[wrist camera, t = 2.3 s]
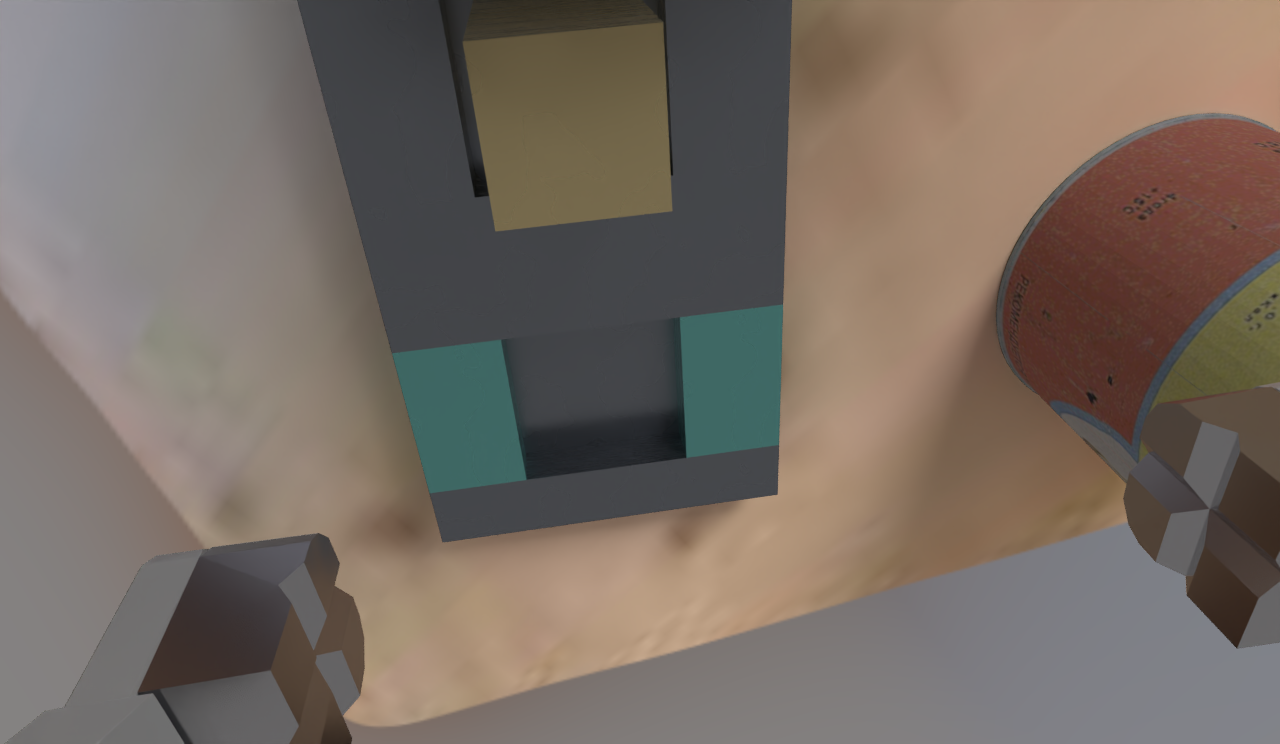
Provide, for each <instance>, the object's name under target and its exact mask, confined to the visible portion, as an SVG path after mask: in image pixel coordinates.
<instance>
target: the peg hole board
mask: <svg viewBox="0 0 1280 744" xmlns="http://www.w3.org/2000/svg"><path fill="white" fill-rule="evenodd" d="M297 1H298V5H299V9H300V12H301V16H302V20H303V24H304V27H305V31H306V35H307V38H308V42H309V46H310V50H311V53H312V57H313V61H314V64H315V68H316V72H317V76H318V79H319V83H320V87H321V91H322V94H323V98H324V102H325V105H326V109H327V113H328V117H329V120H330V124H331V128H332V132H333V135H334V139H335V143H336V146H337V150H338V154H339V158H340V161H341V165H342V169H343V173H344V176H345V180H346V184H347V187H348V191H349V195H350V199H351V202H352V206H353V210H354V213H355V217H356V221H357V225H358V228H359V232H360V236H361V240H362V243H363V247H364V251H365V254H366V258H367V262H368V266H369V269H370V273H371V277H372V281H373V284H374V288H375V292H376V295H377V299H378V303H379V307H380V310H381V314H382V318H383V322H384V325H385V329H386V333H387V336H388V340H389V344H390V348H391V351H392V355H393V359H394V362H395V366H396V370H397V374H398V377H399V381H400V385H401V389H402V392H403V396H404V400H405V403H406V407H407V411H408V415H409V418H410V422H411V426H412V430H413V433H414V437H415V441H416V444H417V448H418V452H419V456H420V459H421V463H422V467H423V471H424V474H425V478H426V482H427V485H428V489H429V493H430V497H431V500H432V504H433V508H434V511H435V515H436V519H437V523H438V526H439V530H440V534H441V538H442V541H443V542H449V541H456V540H463V539H470V538H477V537H484V536H491V535H498V534H505V533H512V532H519V531H526V530H533V529H540V528H547V527H554V526H561V525H568V524H575V523H582V522H589V521H596V520H603V519H610V518H617V517H624V516H631V515H638V514H645V513H652V512H659V511H666V510H673V509H680V508H687V507H694V506H701V505H708V504H715V503H722V502H729V501H736V500H743V499H750V498H757V497H764V496H771V495H777V494H778V460H779V426H780V392H781V357H782V323H783V289H784V254H785V220H786V186H787V152H788V117H789V83H790V49H791V14H792V0H643V2H644V3H645V4H646V5H647V6H648V7H649V8H650V9H651V10H652V11H653V12H654V13H655V14H656V15H657V16H658V17H659V18H660V20H661V21H662V22H663V29H664V50H665V70H666V91H667V111H668V132H669V152H670V172H671V193H672V211H670V212H661V213H653V214H644V215H635V216H627V217H618V218H609V219H600V220H592V221H583V222H574V223H566V224H557V225H548V226H539V227H531V228H522V229H513V230H505V231H496V232H495V226H494V220H493V215H492V209H491V203H490V197H489V192H488V186H487V180H486V174H485V169H484V163H483V157H482V151H481V145H480V140H479V134H478V128H477V122H476V117H475V111H474V105H473V99H472V94H471V88H470V82H469V76H468V70H467V65H466V59H465V53H464V47H463V38H464V34H465V30H466V26H467V23H468V19H469V15H470V11H471V7H472V3H473V0H297Z"/></svg>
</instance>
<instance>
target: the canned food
mask: <svg viewBox="0 0 1280 744" xmlns="http://www.w3.org/2000/svg"><path fill="white" fill-rule="evenodd" d="M996 322H997V333H998V338H999V343H1000V346H1001V349H1002V352H1003V355H1004V357H1005V359H1006V361H1007V363H1008V365H1009V366H1010V368H1011V369H1012V371H1013V372H1014V374H1015V375H1016V376H1017V377H1018V378H1019V379H1020V380H1021V381H1022V382H1023V383H1024V384H1025V385H1026V386H1027V387H1028V388H1030V389H1031V390H1032V391H1033V392H1035V393H1037V394H1038V395H1039V396H1040V397H1041V398H1042V399H1043V400H1044V401H1045V402H1046V403H1047V404H1048V405H1049V406H1050V407H1051V408H1052V409H1053V410H1054V411H1055V412H1056V413H1057V414H1058V415H1059V416H1060V417H1061V418H1062V419H1063V420H1064V421H1065V422H1066V423H1067V424H1068V425H1069V426H1070V427H1071V428H1072V429H1073V430H1074V431H1075V432H1076V433H1077V434H1078V435H1079V436H1080V437H1081V438H1082V439H1083V440H1084V441H1085V442H1086V443H1087V444H1088V445H1089V446H1090V447H1091V448H1092V449H1093V450H1094V451H1095V452H1096V453H1097V454H1098V455H1099V456H1100V457H1101V458H1102V459H1103V460H1104V461H1105V462H1106V463H1107V464H1108V465H1109V466H1110V467H1111V468H1112V469H1113V471H1114V472H1115V473H1116V474H1117V475H1118V476H1119V477H1120V478H1121V479H1122V480H1123V481H1124V482H1125V483H1126V484H1127V480H1128V476H1129V472H1130V471H1131V470H1132V469H1133V468H1134V467H1135V466H1136V465H1137V464H1138V463H1139V462H1140V461H1141V460H1142V459H1143V458H1144V457H1145V456H1146V455H1147V454H1148V453H1149V452H1148V451H1147V449H1146V447H1145V446H1144V444H1143V443H1142V441H1141V439H1140V438H1139V437H1140V434H1141V431H1142V427H1143V424H1144V421H1145V418H1146V416H1147V415H1148V414H1149V413H1150V411H1151V410H1152V409H1153V408H1154V407H1155V406H1156V405H1157V404H1158V403H1164V402H1170V401H1176V400H1182V399H1189V398H1195V397H1201V396H1207V395H1213V394H1220V393H1226V392H1232V391H1238V390H1244V389H1252V388H1254V387H1256V386H1261V385H1267V384H1272V383H1278V382H1280V133H1278V132H1277V131H1275V130H1274V129H1273V128H1271V127H1269V126H1267V125H1264V124H1262V123H1260V122H1257V121H1254V120H1251V119H1248V118H1245V117H1241V116H1236V115H1231V114H1217V113H1211V114H1196V115H1189V116H1183V117H1178V118H1174V119H1170V120H1166V121H1163V122H1160V123H1157V124H1154V125H1151V126H1149V127H1146V128H1144V129H1142V130H1139V131H1137V132H1135V133H1133V134H1130V135H1129V136H1127V137H1125V138H1123V139H1121V140H1119V141H1117V142H1115V143H1114V144H1112V145H1111V146H1109V147H1107V148H1106V149H1104V150H1103V151H1101V152H1100V153H1098V154H1097V155H1095V156H1094V157H1093V158H1091V159H1090V160H1089V161H1087V162H1086V163H1085V164H1083V165H1082V166H1081V167H1080V168H1078V169H1077V170H1076V171H1075V172H1074V173H1073V174H1071V175H1070V176H1069V177H1068V178H1067V179H1066V180H1065V181H1064V182H1063V183H1062V184H1061V185H1060V186H1059V187H1058V188H1057V189H1056V190H1055V191H1054V192H1053V193H1052V194H1051V195H1050V197H1049V198H1048V199H1047V200H1046V201H1045V202H1044V203H1043V205H1042V206H1041V207H1040V209H1039V210H1038V211H1037V212H1036V214H1035V215H1034V216H1033V218H1032V219H1031V221H1030V222H1029V224H1028V225H1027V227H1026V228H1025V230H1024V231H1023V233H1022V235H1021V236H1020V238H1019V240H1018V242H1017V244H1016V246H1015V247H1014V250H1013V252H1012V254H1011V256H1010V258H1009V261H1008V263H1007V266H1006V269H1005V272H1004V274H1003V277H1002V281H1001V285H1000V289H999V294H998V301H997V313H996Z"/></svg>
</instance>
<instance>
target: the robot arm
mask: <svg viewBox="0 0 1280 744" xmlns="http://www.w3.org/2000/svg"><path fill="white" fill-rule="evenodd" d="M1139 438H1140V439H1141V441H1142V443H1143V444H1144V446H1145V447H1146V449H1147V451H1148V452H1149V453H1148V454H1147V455H1146V456H1145V457H1144V458H1143V459H1142V460H1141V461H1140V462H1139V463H1138V464H1137V465H1136V466H1135V467H1134V468H1133V469H1132V470H1131V471H1130V472H1129V476H1128V480H1127V485H1126V489H1125V493H1124V498H1123V499H1124V504H1125V509H1126V514H1127V520H1128V524H1129V526H1130V528H1131V530H1132V532H1133V534H1134V535H1135V537H1136V539H1137V541H1138V543H1139V544H1140V545H1141V546H1142V547H1143V549H1144V550H1145V551H1146V552H1147V553H1148V554H1149V555H1150V556H1151V557H1152V558H1153V560H1154V561H1155V562H1157V563H1159V564H1161V565H1163V566H1165V567H1168V568H1170V569H1172V570H1174V571H1176V572H1179V573H1181V574H1183V575H1185V576H1186V592H1187V596H1188V597H1189V598H1190V599H1191V600H1192V602H1193V603H1194V604H1195V605H1196V606H1197V607H1198V608H1199V609H1200V610H1201V611H1202V612H1203V613H1204V614H1205V615H1206V616H1207V617H1208V618H1209V619H1210V621H1211V622H1212V623H1213V624H1214V625H1215V626H1216V627H1217V628H1218V629H1219V630H1220V631H1221V632H1222V633H1223V634H1224V635H1225V636H1226V638H1227V639H1228V640H1229V641H1230V642H1231V643H1232V644H1233V645H1234V646H1235V647H1236V648H1245V647H1252V646H1259V645H1265V644H1272V643H1279V642H1280V382H1278V383H1272V384H1267V385H1261V386H1256V387H1254V388H1252V389H1244V390H1238V391H1232V392H1226V393H1220V394H1213V395H1207V396H1201V397H1195V398H1189V399H1182V400H1176V401H1170V402H1164V403H1158V404H1157V405H1156V406H1155V407H1154V408H1153V409H1152V410H1151V411H1150V413H1149V414H1148V415H1147V416H1146V418H1145V421H1144V424H1143V427H1142V431H1141V434H1140V437H1139ZM339 564H340V563H339V561H338V558H337V556H336V554H335V552H334V549H333V547H332V545H331V542H330V540H329V538H328V537H326V536H324V535H321V534H319V533H316V534H308V535H301V536H293V537H286V538H278V539H271V540H263V541H256V542H248V543H241V544H233V545H226V546H218V547H212V548H210V549H201V550H194V551H187V552H180V553H172V554H166V555H159V556H155V557H154V558H152V559H151V560H149V561H148V562H146V563H145V564H143V565H142V566H141V568H140V569H139V571H138V573H137V575H136V577H135V578H134V580H133V582H132V584H131V586H130V588H129V589H128V591H127V593H126V595H125V597H124V599H123V600H122V602H121V604H120V606H119V608H118V610H117V612H116V613H115V615H114V617H113V619H112V621H111V622H110V624H109V626H108V628H107V630H106V632H105V634H104V635H103V637H102V639H101V641H100V643H99V645H98V646H97V649H96V650H95V652H94V654H93V656H92V658H91V659H90V661H89V663H88V665H87V667H86V668H85V670H84V672H83V674H82V676H81V678H80V680H79V681H78V683H77V685H76V687H75V689H74V690H73V692H72V694H71V696H70V698H69V700H68V702H67V704H66V705H65V707H64V708H59V709H54V710H48V711H44V712H43V713H42V714H40V715H39V716H38V717H37V718H36V719H34V720H33V721H32V722H31V723H29V724H28V725H27V726H26V727H24V728H23V729H22V730H21V731H19V732H18V733H17V734H16V735H14V736H13V737H12V738H11V739H10V740H8V741H7V742H6V743H5V744H351V742H352V737H351V734H350V732H349V730H348V728H347V725H346V723H345V721H344V718H343V715H344V713H345V712H346V711H347V710H348V709H349V708H350V707H351V705H352V704H353V703H354V702H355V701H356V700H357V699H358V697H359V696H360V693H361V687H362V681H363V675H364V669H365V665H364V635H363V630H362V625H361V620H360V615H359V612H358V610H357V607H356V604H355V602H354V599H353V597H352V596H350V595H349V594H347V593H345V592H344V591H342V590H341V589H339V588H337V587H336V586H334V585H335V581H336V577H337V573H338V569H339Z"/></svg>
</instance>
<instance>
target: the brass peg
mask: <svg viewBox="0 0 1280 744" xmlns="http://www.w3.org/2000/svg"><path fill="white" fill-rule="evenodd" d="M463 47H464V53H465V59H466V65H467V70H468V76H469V82H470V88H471V94H472V99H473V105H474V111H475V117H476V122H477V128H478V134H479V140H480V145H481V151H482V157H483V163H484V169H485V174H486V180H487V186H488V192H489V197H490V203H491V209H492V215H493V220H494V226H495V232H496V231H505V230H513V229H522V228H531V227H539V226H548V225H557V224H566V223H574V222H583V221H592V220H600V219H609V218H618V217H627V216H635V215H644V214H653V213H661V212H670V211H672V193H671V172H670V152H669V132H668V111H667V91H666V70H665V50H664V29H663V22H662V21H661V20H660V18H659V17H658V16H657V15H656V14H655V13H654V12H653V11H652V10H651V9H650V8H649V7H648V6H647V5H646V4H645V3H644V2H643V0H473V3H472V7H471V11H470V15H469V19H468V23H467V26H466V30H465V34H464V38H463Z"/></svg>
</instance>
